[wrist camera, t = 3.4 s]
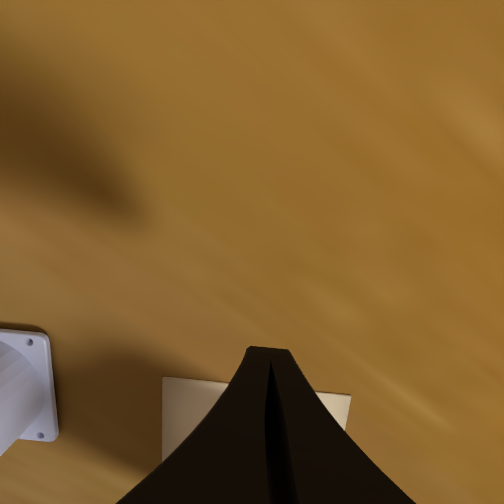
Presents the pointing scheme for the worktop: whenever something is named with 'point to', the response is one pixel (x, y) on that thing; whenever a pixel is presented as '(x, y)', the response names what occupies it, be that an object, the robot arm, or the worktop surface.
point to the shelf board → (203, 399)
